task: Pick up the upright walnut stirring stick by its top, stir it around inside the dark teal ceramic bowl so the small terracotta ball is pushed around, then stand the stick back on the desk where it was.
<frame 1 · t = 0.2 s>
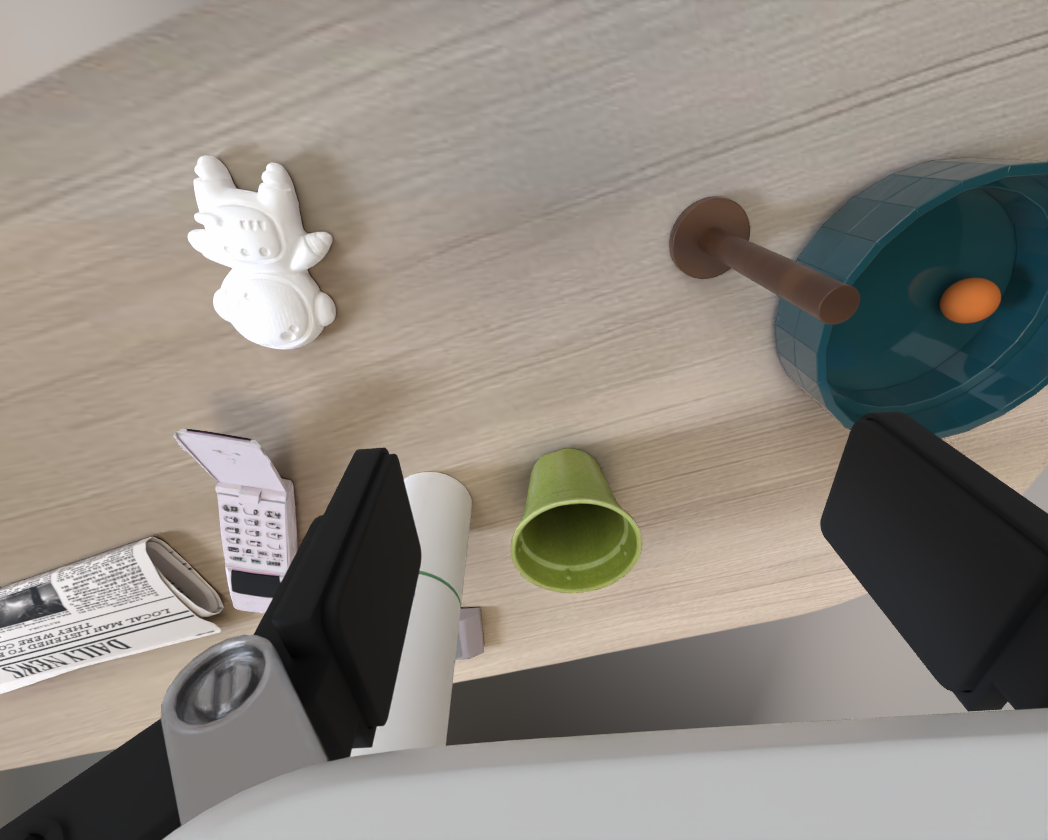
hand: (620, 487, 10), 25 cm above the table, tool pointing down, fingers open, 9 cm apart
white toy figurine: (272, 256, 32), on the table
bowl: (895, 295, 34), on the table
plant pot: (564, 474, 41), on the table
newspaper: (64, 617, 50), on the table
mobile phone: (268, 513, 43), on the table
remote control: (427, 626, 52), on the table
stirring stick: (706, 238, 31), on the table
cylindrical container: (432, 502, 43), on the table
ball: (969, 300, 32), point 2 cm above the table, touching bowl
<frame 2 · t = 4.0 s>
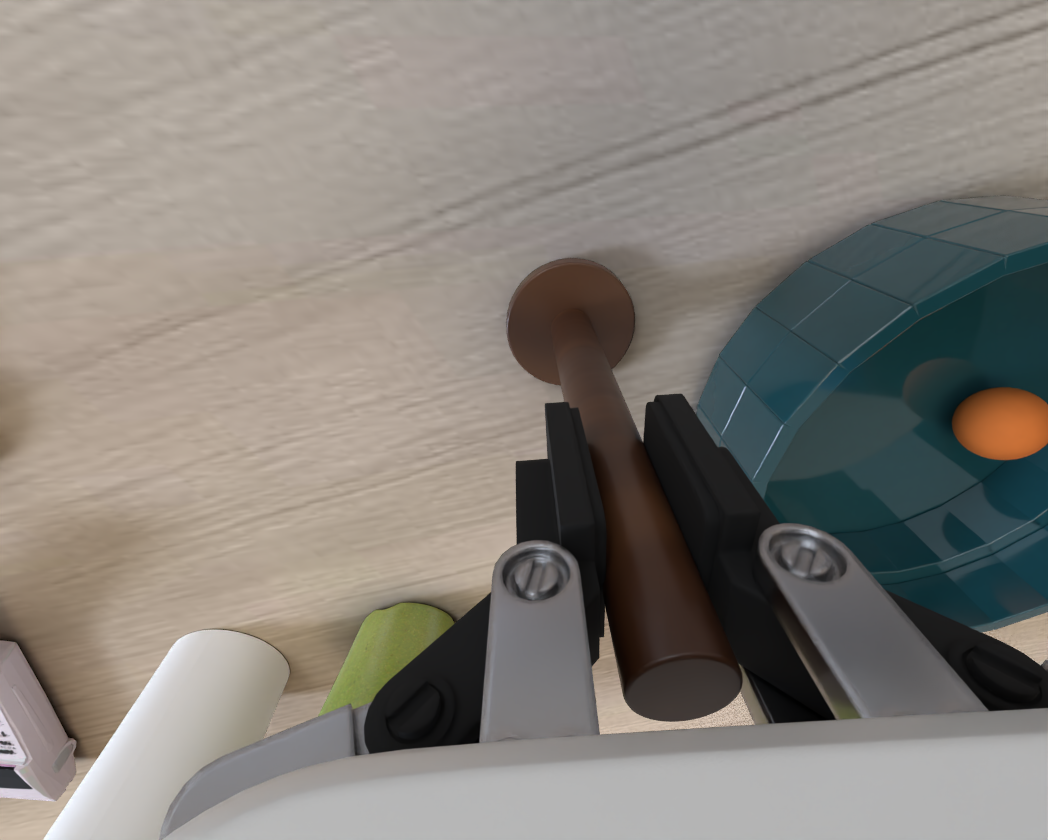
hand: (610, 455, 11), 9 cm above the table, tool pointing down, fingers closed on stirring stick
bowl: (880, 405, 21), on the table
plant pot: (412, 630, 29), on the table
mobile phone: (4, 676, 31), on the table
stirring stick: (568, 321, 19), on the table, touching gripper
cylindrical container: (233, 661, 30), on the table
ball: (1001, 423, 19), point 2 cm above the table, touching bowl
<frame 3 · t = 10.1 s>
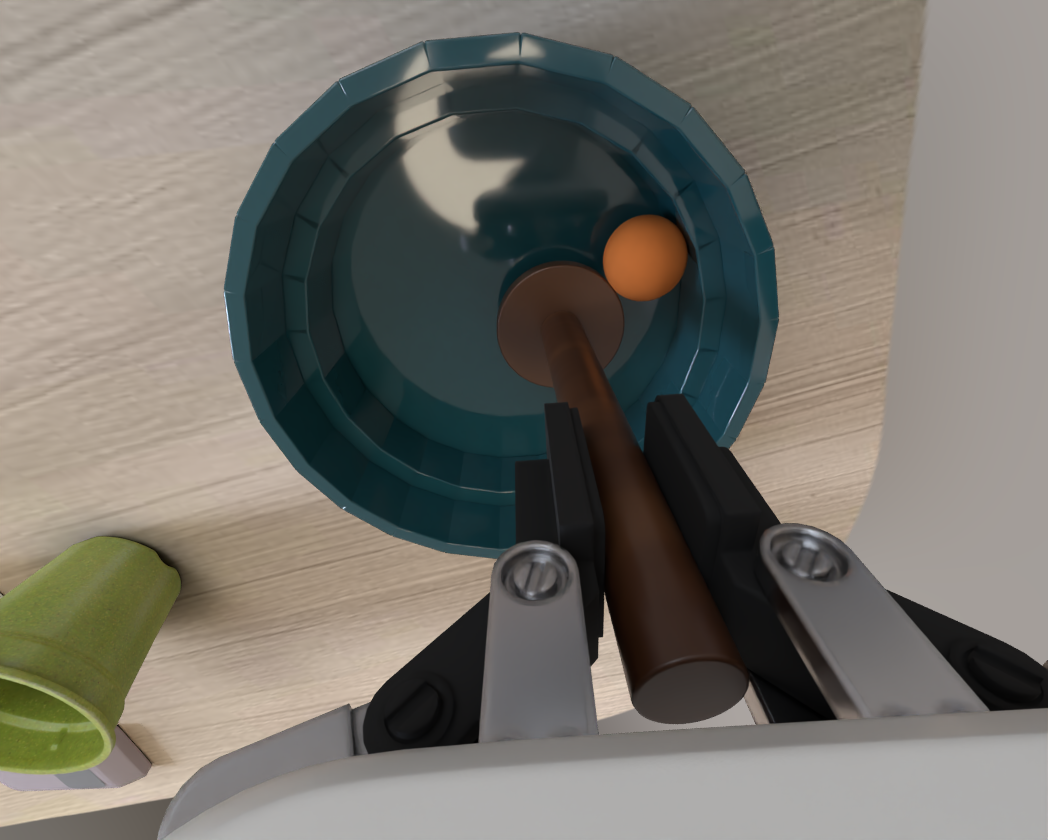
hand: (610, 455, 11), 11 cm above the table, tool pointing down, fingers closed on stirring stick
bowl: (507, 312, 20), on the table
plant pot: (130, 568, 28), on the table
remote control: (63, 745, 39), on the table
stirring stick: (558, 324, 19), point 2 cm above the table, touching ball, gripper
ball: (644, 259, 17), point 2 cm above the table, tilted 106°, touching bowl, stirring stick
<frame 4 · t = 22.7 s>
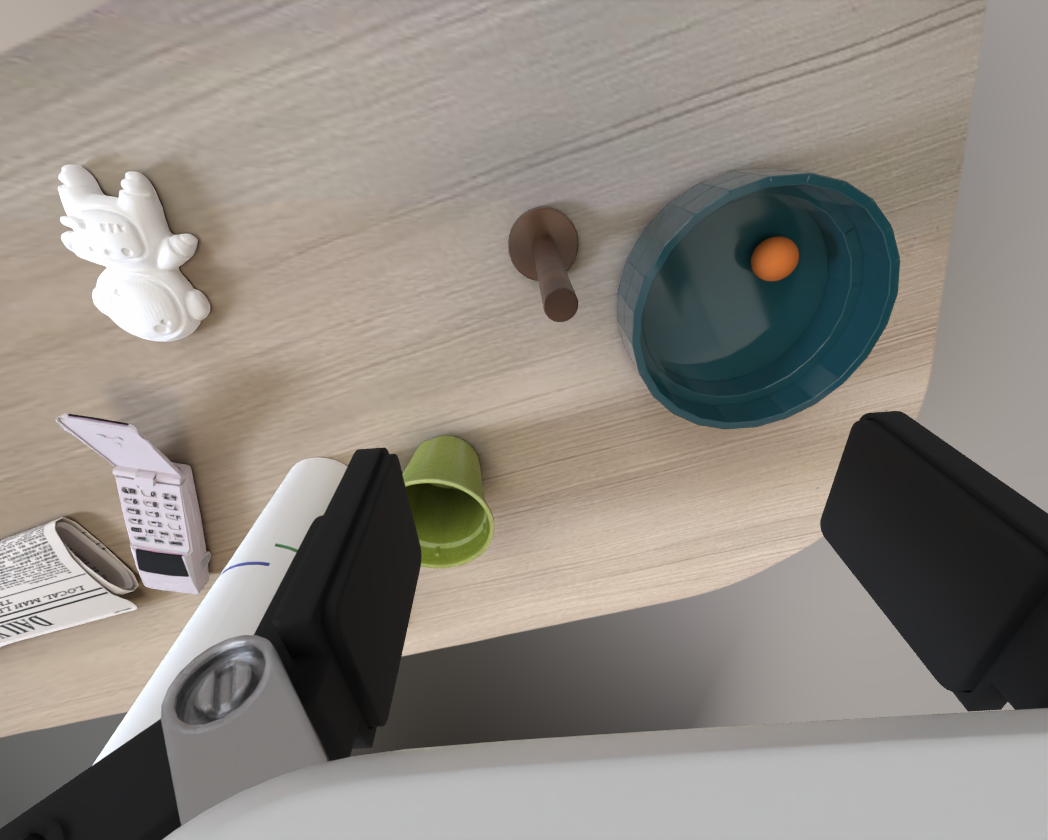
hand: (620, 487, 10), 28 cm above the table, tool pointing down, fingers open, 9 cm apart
white toy figurine: (145, 256, 34), on the table
bowl: (726, 293, 37), on the table
plant pot: (447, 460, 44), on the table
mobile phone: (173, 497, 46), on the table
stirring stick: (542, 243, 34), on the table
cylindrical container: (326, 486, 46), on the table
ball: (774, 259, 33), point 2 cm above the table, tilted 70°, touching bowl
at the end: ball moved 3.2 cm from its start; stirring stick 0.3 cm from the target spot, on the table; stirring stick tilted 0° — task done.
